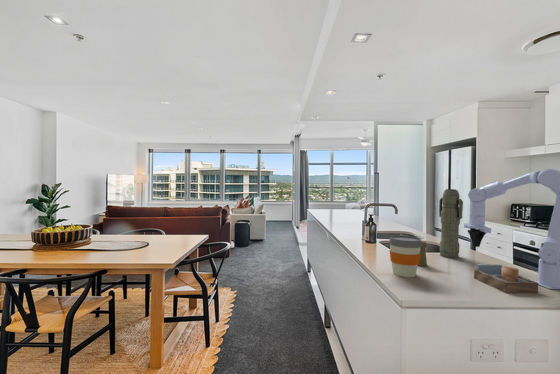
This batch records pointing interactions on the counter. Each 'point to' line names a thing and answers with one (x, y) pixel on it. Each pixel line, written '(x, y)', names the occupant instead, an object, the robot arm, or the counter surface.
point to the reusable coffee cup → (405, 255)
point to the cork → (423, 254)
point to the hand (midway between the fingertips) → (476, 246)
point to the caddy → (507, 283)
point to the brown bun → (509, 274)
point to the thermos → (450, 223)
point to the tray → (493, 270)
